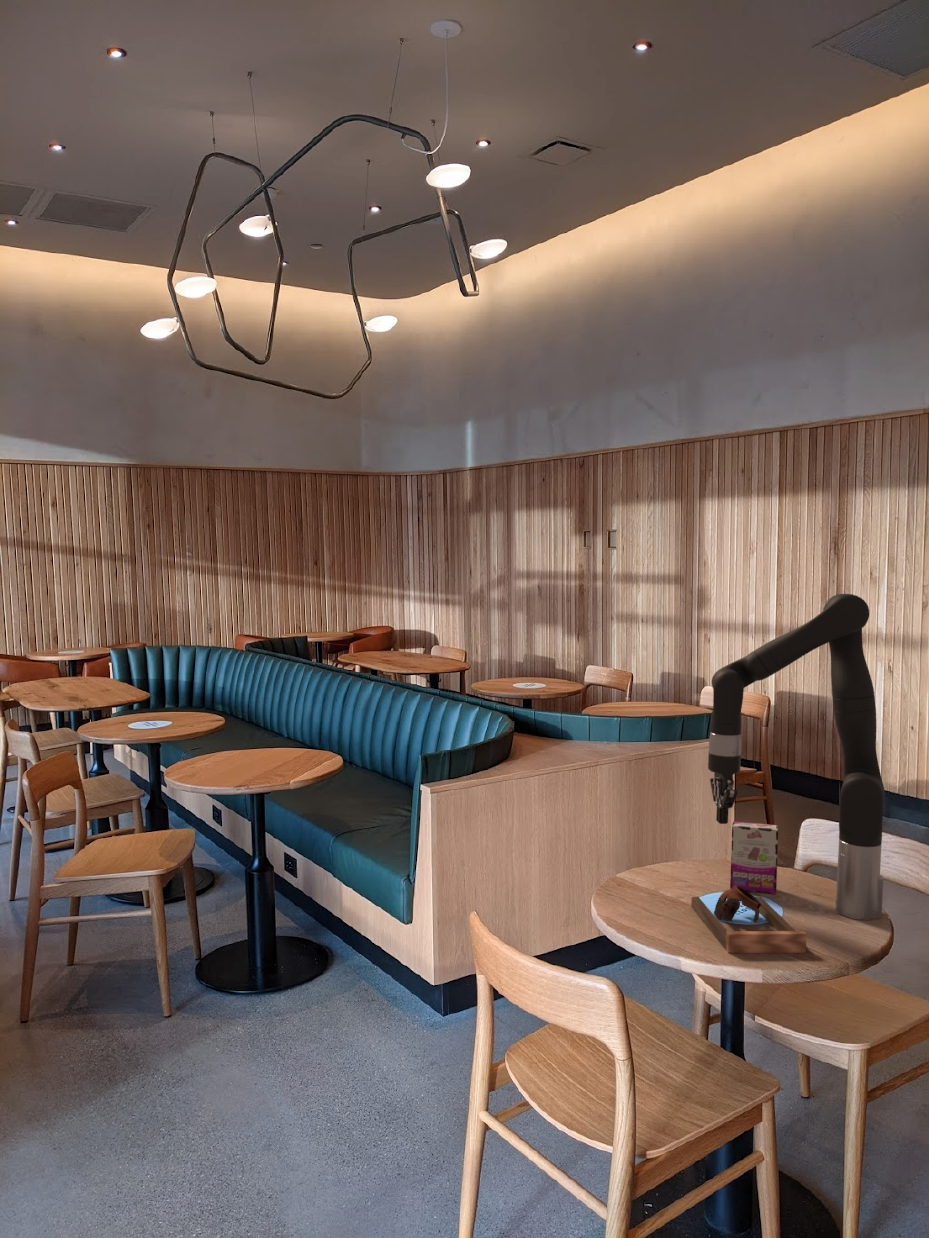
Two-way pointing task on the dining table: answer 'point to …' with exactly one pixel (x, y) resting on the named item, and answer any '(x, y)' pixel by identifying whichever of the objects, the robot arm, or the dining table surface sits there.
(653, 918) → the dining table surface
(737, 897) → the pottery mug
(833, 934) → the dining table surface
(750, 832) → the candy bar box
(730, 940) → the bay
